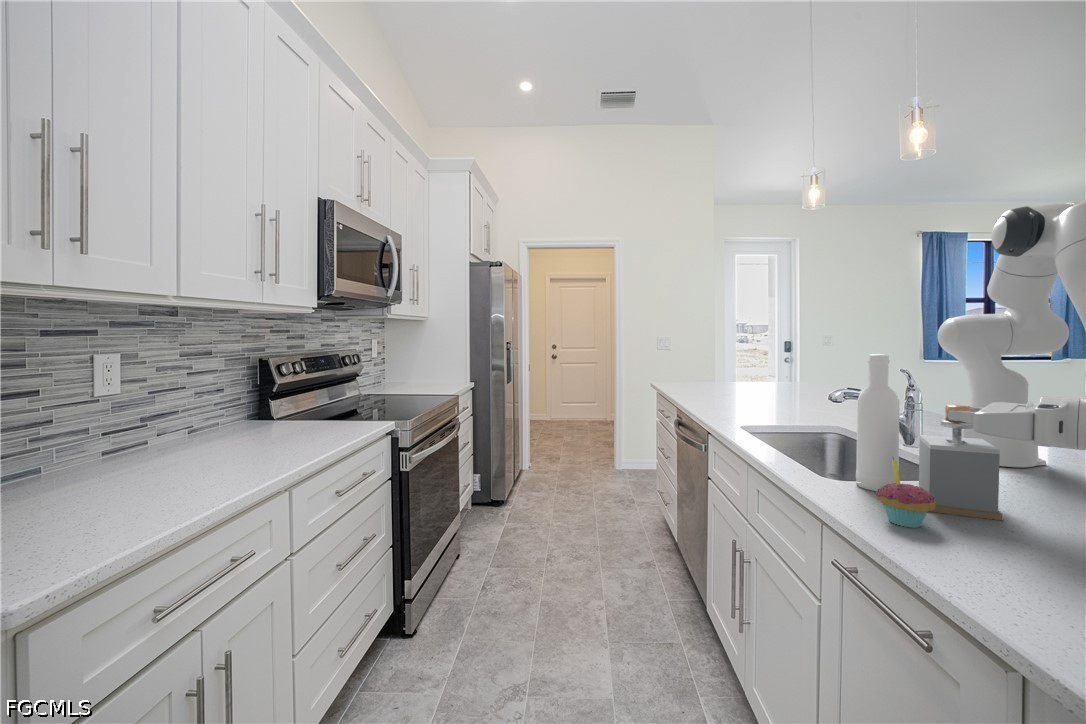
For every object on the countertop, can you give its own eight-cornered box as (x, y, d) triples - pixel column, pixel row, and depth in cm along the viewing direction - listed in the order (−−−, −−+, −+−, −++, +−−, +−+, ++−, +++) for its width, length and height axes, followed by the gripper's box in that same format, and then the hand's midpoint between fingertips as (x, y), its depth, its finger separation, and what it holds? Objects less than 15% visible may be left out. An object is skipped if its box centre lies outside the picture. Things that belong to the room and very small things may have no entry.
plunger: (927, 487, 99) (928, 402, 98) (974, 492, 95) (977, 404, 94) (935, 498, 92) (937, 407, 91) (987, 504, 89) (989, 410, 88)
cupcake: (870, 522, 87) (871, 458, 87) (884, 510, 93) (885, 450, 92) (929, 536, 81) (930, 467, 80) (940, 523, 86) (941, 458, 85)
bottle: (865, 491, 104) (867, 355, 102) (849, 481, 111) (850, 354, 110) (906, 493, 102) (909, 354, 101) (887, 482, 110) (889, 353, 108)
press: (915, 494, 101) (916, 434, 101) (983, 501, 96) (984, 438, 95) (926, 511, 92) (927, 445, 91) (1002, 520, 86) (1004, 450, 86)
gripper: (1059, 398, 89) (963, 392, 100) (1048, 410, 76) (939, 402, 87) (1058, 431, 90) (962, 422, 100) (1047, 448, 77) (938, 436, 87)
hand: (951, 413), depth 94 cm, fingers closed on plunger, 4 cm apart
